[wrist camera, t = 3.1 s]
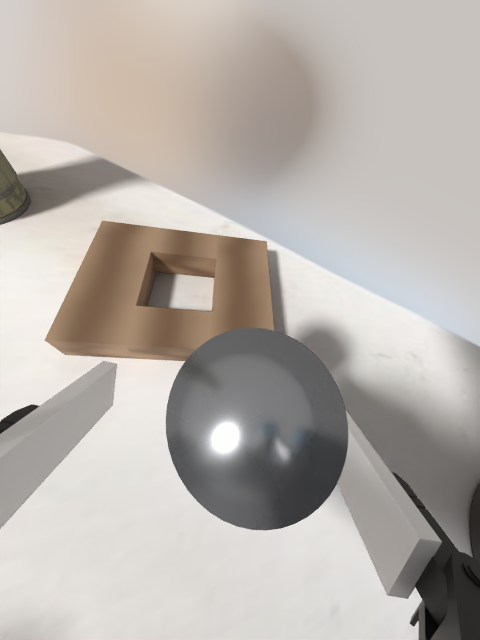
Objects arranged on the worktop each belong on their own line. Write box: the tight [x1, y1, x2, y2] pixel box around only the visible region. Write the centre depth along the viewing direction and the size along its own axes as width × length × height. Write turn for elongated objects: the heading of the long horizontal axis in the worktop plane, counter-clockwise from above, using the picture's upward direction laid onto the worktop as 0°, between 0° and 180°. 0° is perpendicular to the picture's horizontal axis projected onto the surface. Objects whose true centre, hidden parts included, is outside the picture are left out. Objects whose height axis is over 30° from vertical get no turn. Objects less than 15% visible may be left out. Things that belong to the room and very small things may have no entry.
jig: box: [45, 221, 274, 361], centre depth 23 cm, size 18×14×3 cm
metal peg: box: [166, 328, 348, 530], centre depth 13 cm, size 6×6×13 cm
